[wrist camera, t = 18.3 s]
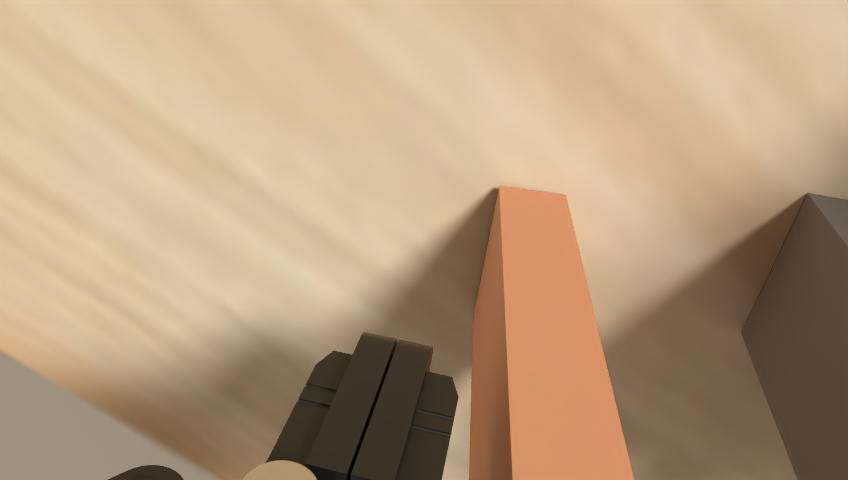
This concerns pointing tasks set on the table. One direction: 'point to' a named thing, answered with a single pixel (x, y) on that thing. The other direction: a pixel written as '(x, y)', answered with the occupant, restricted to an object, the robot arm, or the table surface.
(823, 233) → the domino
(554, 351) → the domino
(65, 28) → the table surface
